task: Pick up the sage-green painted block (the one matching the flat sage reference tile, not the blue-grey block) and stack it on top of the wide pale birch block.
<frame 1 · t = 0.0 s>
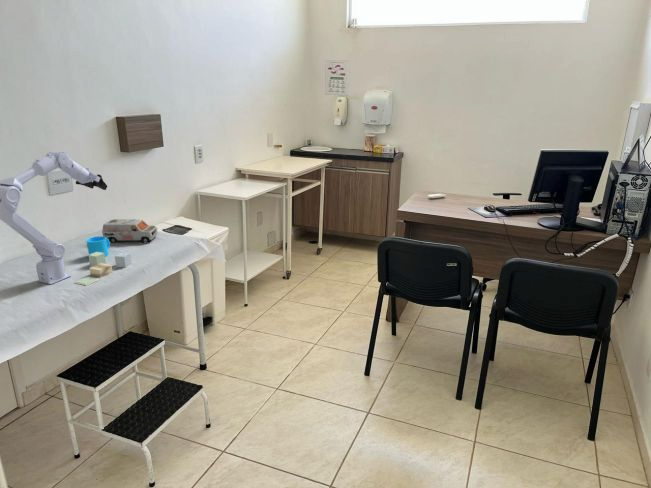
hand: (99, 187, 207), 32 cm above the table, tool tilted 50°, fingers open, 7 cm apart
bluegrey block: (123, 265, 208), on the table
toy car: (131, 240, 241), on the table
mug: (101, 254, 221), on the table
birch base: (101, 274, 199), on the table
sage block: (98, 264, 208), on the table
reference tile: (87, 281, 191), on the table
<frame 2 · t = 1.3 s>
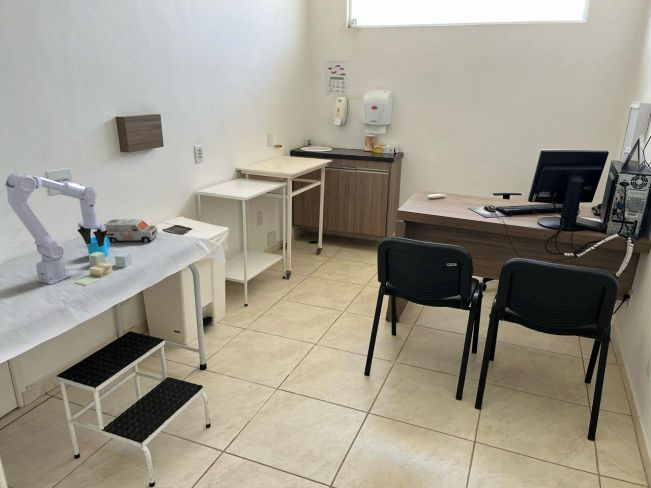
hand: (94, 244, 205), 9 cm above the table, tool pointing down, fingers open, 7 cm apart
nothing on the table moved.
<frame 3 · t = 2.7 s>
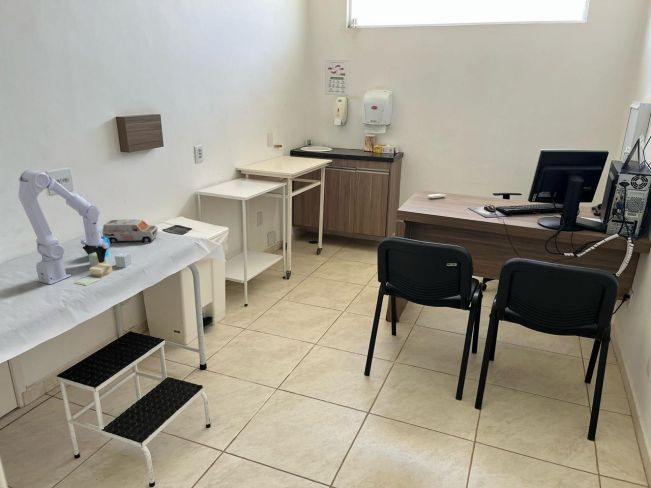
hand: (97, 261, 208), 1 cm above the table, tool pointing down, fingers closed on sage block, 4 cm apart
sage block: (98, 264, 208), on the table, touching gripper
everything else where it was.
when the fingers open (6 cm above the table, at t = 5.4 s): sage block drops 1 cm, resting on birch base.
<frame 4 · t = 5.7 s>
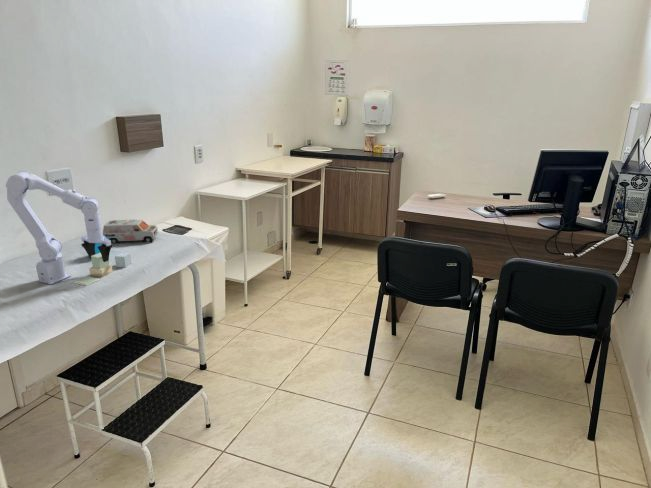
hand: (99, 259, 196), 6 cm above the table, tool pointing down, fingers open, 7 cm apart
birch base: (101, 274, 199), on the table, touching sage block
sage block: (101, 266, 198), point 3 cm above the table, touching birch base
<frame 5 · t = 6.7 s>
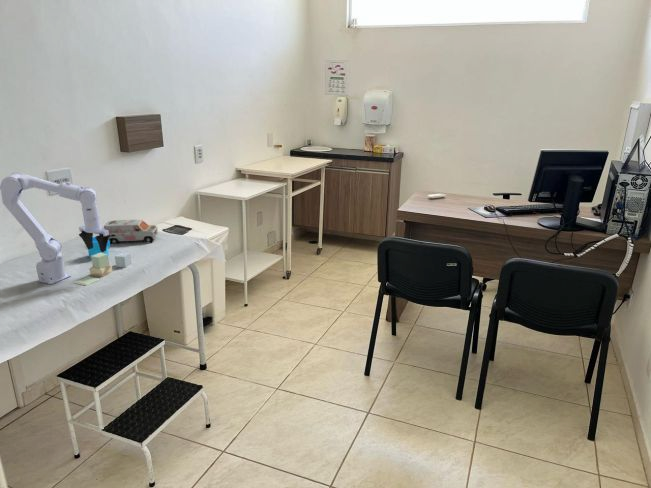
hand: (96, 250, 195), 10 cm above the table, tool pointing down, fingers open, 7 cm apart
birch base: (101, 274, 199), on the table
sage block: (101, 266, 198), point 3 cm above the table
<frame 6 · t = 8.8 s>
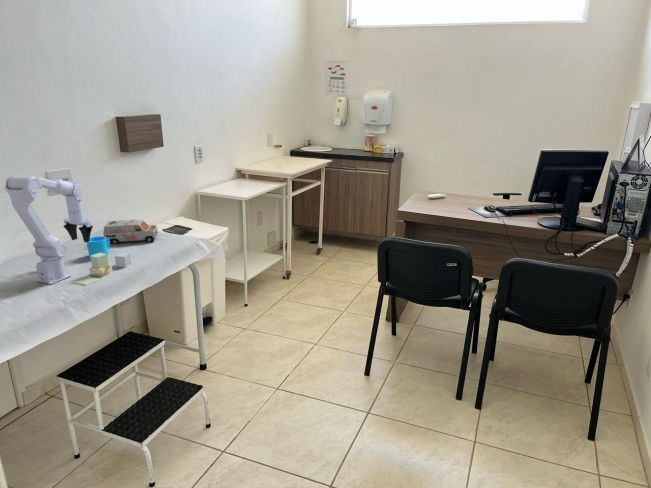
hand: (80, 240, 207), 10 cm above the table, tool pointing down, fingers open, 7 cm apart
birch base: (101, 274, 199), on the table, touching sage block
sage block: (100, 266, 198), point 3 cm above the table, touching birch base
at the end: sage block 0.2 cm off-centre on the birch base, point 3.5 cm above the birch base's base; sage block tilted 0°; the gripper is holding nothing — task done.
